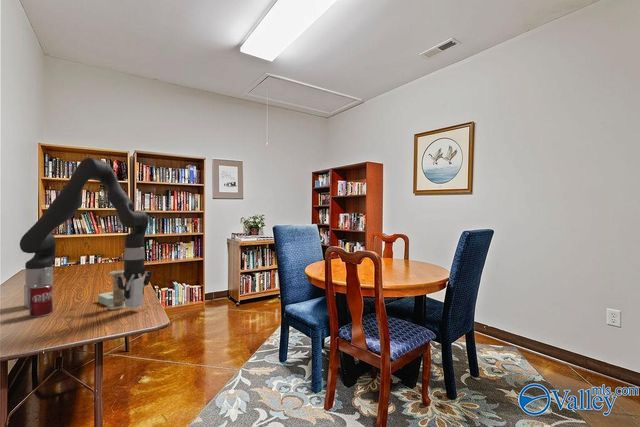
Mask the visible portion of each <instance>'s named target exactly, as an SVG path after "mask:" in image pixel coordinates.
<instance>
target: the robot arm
mask: <svg viewBox="0 0 640 427" xmlns="http://www.w3.org/2000/svg"><path fill="white" fill-rule="evenodd" d="M89 180H93V181H98V182H99V183H101V184H102V185H103V186H104V187H105V189H106V190H107V192H106V193H107V195H106V196H107V199H108V202H109V203H110V204H111V205H112V207H113V208H114V209H115V211H116V214H117V216H118V217H117V218H118V219H119V222H120V224H121V225H122V226H123V227H125V228H127V229H131V228H132V229H133V230H132V232H129V233H127V234H125V239H124V253H123V255H124V256H123V270H124V272H123V274H122V275H119V276H116V281H117V284H118V287H119V289H121V290H124V297H125V298H126V299H129V287H130V285H131V284H132V280H133V279H138V278H143V276H144V278H143V295H144V294H145V293H144V292H145V287H146V286H148V285H149V284H150V281H151V278H152V273H153V272H152V271H149V270H145V236H146V232H147V229H148V226H149V222H150V221H149V216H148V214H147V213H146V212H144V211H141V210H140V211H138V210H136V211H133V210H134V208H135V204H134V202H133V201H132V199H131V198H130V197H129V196H128V195H127V193H126V192H125V190H124V189H123V188H122V185H120V182H119V181H118V180H119V179H118V178H117V177H116V174H115V172H114V170H113V169H112V167H111V165H109V163H107V162H105V161H102V160H99V159H97V158H94V157H85V158H84V159H82V160H81V161H80V163H79V164H77V167H76V169H75V170H74V172H73V173H72V175H71V176H70V178H69V179H68V181H67V183H66V184H65V185H64V187H63V188H62V190H61V191H60V192H59V193H58V195H57V196H56V197H55V198H54V199H53V201H52V202H51V203H50V205H49V206H48V208H47V209H46V210H45V211H44V212H43V214H42V215H41V216H40V217H39V219H38V220H37V221H36V222H35V223H34V224H33V225H32V227H30V228H29V230H27V231H26V232H25V234H24V235H22V236H21V239H20V241H19V249H20V250H21V251H22V252H23V253H26V254H34V255H33V256H32V258H30V259H29V260H27V261H26V262H25V264H24V268H25V274H24V275H25V279H24V280H25V284H24V285H23V306H24V307H25V308H26V309H28V310H29V288H30V287H31V286H35V285H41V284H52V285H53V286H54V276H53V275H54V266H53V264H54V261H55V259H56V249H57V248H56V247H57V240H56V237H55V236H54V234H53V233H52V232H53V231H54V230H55V229H57V228H59V227H60V226H61V225H62V224H64V223H66V222H67V221H69V220H70V219H71V218H73V216H74V215H75V214H76V213H77V211H78V210H79V209H80V207H81V205H82V204H83V203H82V202H83V200H82V199H83V195H82V194H83V188H84V186H85V185H86V183H88V181H89ZM123 277H124V279H126V281H125V280H124V285H123V282H122V280H123ZM127 281H129V282H127Z"/></svg>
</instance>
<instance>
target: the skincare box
mask: <svg viewBox="0 0 640 427" xmlns="http://www.w3.org/2000/svg"><path fill="white" fill-rule="evenodd" d="M125 281H126V278H124V282H125ZM127 282H129V281H127ZM143 282H144V278H143V277H142V278H138V279H133V280H132V284H131V285H130V287H129V299H126V298H125V299H124V303H125V306H126V307H127V308H131V309H137V308H139V307H143V305H144V294H143Z"/></svg>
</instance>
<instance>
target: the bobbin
mask: <svg viewBox="0 0 640 427" xmlns="http://www.w3.org/2000/svg"><path fill="white" fill-rule="evenodd" d="M123 272H124V269H123V270H112V271H109V273H108V275H109V276H111V277H112V281H113V282H112V285H113V286H112V292H113V305H110V306H109V307H108V309H109V310H110V311H120V310H124V309H127V308H128V307H126V306H125V299H124V290H121V289H119V287H118V284H117V281H116V276H119V275H122V274H123ZM122 282H123V285H125V277H123V280H122Z"/></svg>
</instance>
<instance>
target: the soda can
mask: <svg viewBox="0 0 640 427" xmlns="http://www.w3.org/2000/svg"><path fill="white" fill-rule="evenodd" d="M53 301H54V284H53V285H52V284H41V285H35V286H31V287H30V288H29V308H28V310H29V311H28V312H29V313H28V314H29V315H28V316H29V317H30V318H41V317H47V316H49V315H51V314H52V313H53V312H54V302H53Z"/></svg>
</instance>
